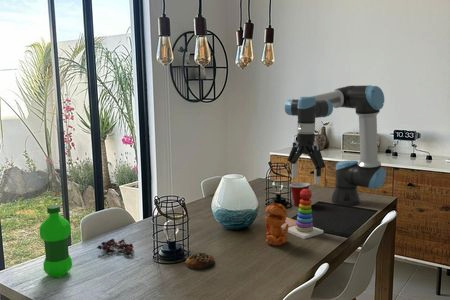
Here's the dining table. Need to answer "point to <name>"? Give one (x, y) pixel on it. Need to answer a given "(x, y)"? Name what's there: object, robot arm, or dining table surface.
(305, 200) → the stacking toy
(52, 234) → the plastic bottle
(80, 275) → the dining table surface
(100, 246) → the grape bunch
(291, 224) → the terracotta tile
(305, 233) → the cream tile
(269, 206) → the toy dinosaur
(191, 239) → the dining table surface
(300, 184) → the plastic cup
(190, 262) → the bread roll
